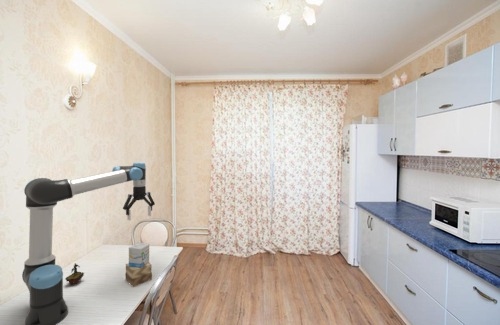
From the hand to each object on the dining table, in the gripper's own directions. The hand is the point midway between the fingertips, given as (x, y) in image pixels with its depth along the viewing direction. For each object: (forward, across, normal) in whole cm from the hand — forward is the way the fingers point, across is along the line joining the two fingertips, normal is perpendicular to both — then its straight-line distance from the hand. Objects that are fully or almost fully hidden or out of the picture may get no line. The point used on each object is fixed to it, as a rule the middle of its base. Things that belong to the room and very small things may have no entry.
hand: (139, 217), depth 156 cm
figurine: (+35, -33, +12) cm, 50 cm away
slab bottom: (+35, -7, -12) cm, 38 cm away
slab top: (+30, -7, -12) cm, 33 cm away
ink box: (+25, -6, -12) cm, 29 cm away
